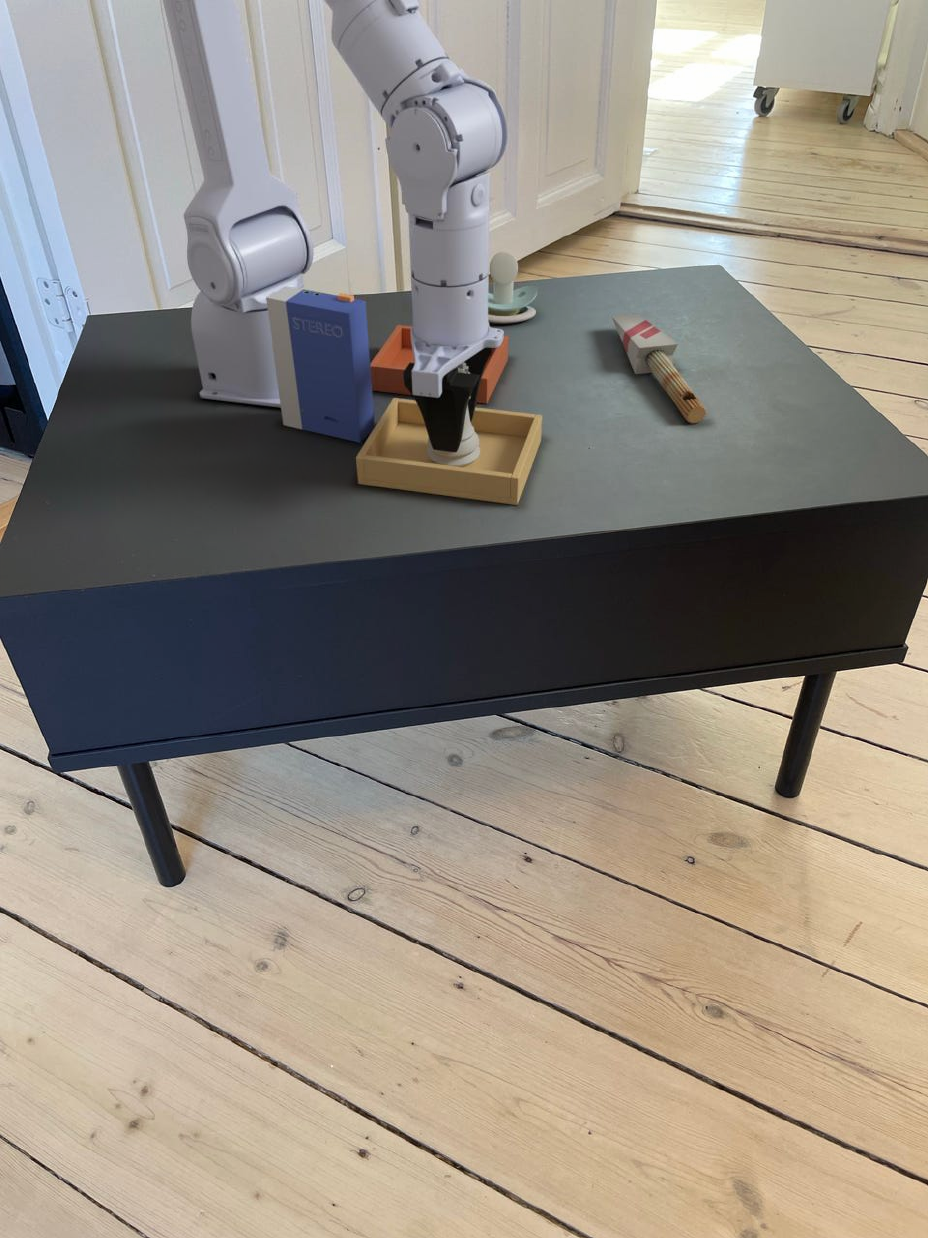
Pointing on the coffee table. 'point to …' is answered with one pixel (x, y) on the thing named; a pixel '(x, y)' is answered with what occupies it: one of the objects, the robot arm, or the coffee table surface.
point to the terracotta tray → (400, 354)
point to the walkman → (322, 362)
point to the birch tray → (405, 465)
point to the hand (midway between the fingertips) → (452, 436)
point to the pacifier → (508, 292)
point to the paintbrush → (657, 361)
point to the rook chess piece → (467, 446)
